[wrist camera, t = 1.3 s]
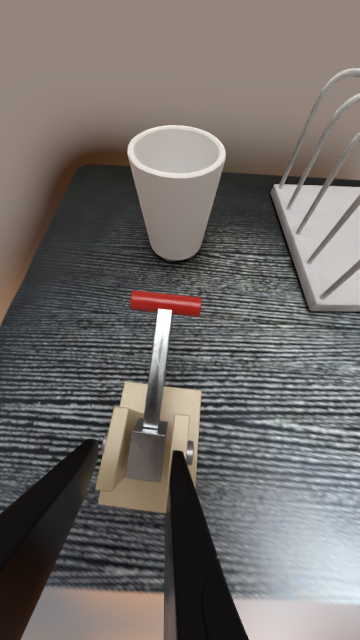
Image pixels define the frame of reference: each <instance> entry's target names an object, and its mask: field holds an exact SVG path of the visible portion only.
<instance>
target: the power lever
mask: <svg viewBox="0 0 360 640" xmlns="http://www.w3.org/2000/svg"><path fill="white" fill-rule="evenodd" d="M201 300H202V299H201V298H199V297H190V296H181V295H172V294H163V293H153V292H144V291H135V290H134V291H133V292H132V295H131V302H130V304H131V309H132V310H138V311H147V312H156V313H157V317H156V325H155V333H154V340H153V348H152V356H151V364H150V371H149V379H148V387H147V395H146V402H145V410H144V418H139V419H138V421H137V423H136V424H135V426H134V428H133V430H132V431H131V438H130V446H129V453H128V461H127V468H126V476H125V478H129V479H137V480H144V481H152V482H159V483H160V481H161V475H162V469H163V462H164V454H165V446H166V437H167V428H168V422H167V421H160V419H161V411H162V403H163V394H164V386H165V378H166V369H167V361H168V353H169V344H170V336H171V328H172V319H173V314H174V315H183V316H192V317H199V316H200V311H201Z"/></svg>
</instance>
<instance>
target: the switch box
mask: <svg viewBox="0 0 360 640" xmlns="http://www.w3.org/2000/svg"><path fill="white" fill-rule="evenodd" d="M147 387H148V384H142V383H134V382H125V385H124V389H123V394H122V398H121V402H120V407H117V406H115V407H114V410H113V414H112V418H111V422H110V427H109V430H108V431H107V432H106V434H105V436H104V439H103V442H102V449H101V451H102V454H103V457H102V461H101V465H100V469H99V474H98V478H97V482H96V486H95V489H96V490H100V491H101V492H100V496H99V501H98V504H99V505H107V506H114V507H121V508H129V509H136V510H144V511H151V512H158V513H166V506H167V496H168V487H169V478H170V469H171V460H172V452H173V450H179V451H182V452H183V453H184V456H185V459H186V462H187V465H188V468H189V471H190V474H191V477H192V480H193V483H194V486H195V487H196V471H197V455H198V439H199V423H200V407H201V391H200V390H192V389H183V388H175V387H167V386H164V394H163V403H162V411H161V419H160V421H167V422H168V428H167V437H166V446H165V454H164V462H163V469H162V475H161V481H160V483H159V482H152V481H144V480H137V479H129V478H125V476H126V468H127V461H128V453H129V446H130V438H131V431H132V430H133V428H134V426H135V424H136V423H137V421H138V419H139V418H144V410H145V402H146V395H147Z"/></svg>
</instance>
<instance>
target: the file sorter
mask: <svg viewBox="0 0 360 640" xmlns="http://www.w3.org/2000/svg"><path fill="white" fill-rule="evenodd" d="M349 76H354V77H360V68H350V69H346V70H344V71H342V72H340V73H338V74H337V75H335V76H334V77H333V78H332V79H331V80H330V81H329V82H328V83H327V84H326V85H325V87H324V88H323V89H322V91H321V92H320V94H319V96H318V98H317V100H316V102H315V104H314V106H313V109H312V111H311V113H310V115H309V118H308V120H307V122H306V125H305V127H304V129H303V131H302V134H301V136H300V138H299V141H298V143H297V145H296V148H295V150H294V152H293V155H292V157H291V159H290V162H289V164H288V166H287V168H286V171H285V173H284V175H283V178H282V180H281V182H280V184H275V185H274V187H273V189H272V191H271V197H272V199H273V202H274V205H275V208H276V211H277V214H278V217H279V220H280V223H281V226H282V229H283V232H284V235H285V238H286V241H287V244H288V247H289V250H290V253H291V256H292V259H293V262H294V265H295V268H296V271H297V274H298V277H299V280H300V283H301V286H302V289H303V292H304V295H305V298H306V301H307V304H308V307H309V309H310V310H311V311H360V187H339V186H329V185H330V184H331V182H332V181H333V179H334V178H335V176H336V174H337V173H338V171H339V170H340V168H341V166H342V164H343V163H344V162H345V160H346V158H347V157H348V155H349V153H350V152H351V151H352V149H353V148H354V147H355V145H356V144H357V143H358V142H359V141H360V132H359V133H358V134H357V135H356V136H355V137H354V138H353V139H352V140H351V142H350V143H349V144H348V146H347V147H346V148H345V150H344V152H343V153H342V155H341V156H340V158H339V160H338V161H337V163H336V165H335V166H334V168H333V170H332V171H331V173H330V175H329V177H328V178H327V180H326V181H325V183H324V185H323V186H312V185H303V183H304V181H305V179H306V177H307V175H308V173H309V171H310V169H311V167H312V165H313V163H314V161H315V159H316V158H317V156H318V154H319V152H320V150H321V148H322V146H323V144H324V142H325V140H326V138H327V136H328V134H329V132H330V131H331V129H332V127H333V125H334V124H335V122H336V120H337V119H338V117H339V116H340V115H341V114H342V113H343V112H344V111H345V110H346V109H347V108H349V107H350V106H352V105H353V104H355V103H357V102H359V101H360V93H359V94H357V95H355V96H353V97H352V98H350V99H349V100H347V101H346V102H345V103H344V104H343V105H342V106H341V107H340V108H339V109H338V110H337V111H336V112H335V114H334V115H333V116H332V118H331V120H330V121H329V123H328V125H327V127H326V129H325V130H324V133H323V134H322V137H321V139H320V141H319V143H318V145H317V147H316V149H315V151H314V153H313V155H312V157H311V159H310V161H309V163H308V165H307V167H306V169H305V171H304V173H303V175H302V177H301V179H300V181H299V183H298V185H284V182H285V180H286V178H287V176H288V174H289V171H290V169H291V167H292V164H293V162H294V160H295V158H296V156H297V153H298V151H299V149H300V147H301V144H302V142H303V140H304V138H305V135H306V133H307V131H308V129H309V127H310V124H311V122H312V120H313V118H314V116H315V114H316V111H317V109H318V107H319V105H320V102H321V101H322V99H323V97H324V95H325V94H326V92H327V91H328V90H329V89H330V88H331V86H332V85H333V84H334V83H336V82H337V81H339V80H340V79H343V78H345V77H349Z"/></svg>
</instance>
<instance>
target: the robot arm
mask: <svg viewBox="0 0 360 640" xmlns="http://www.w3.org/2000/svg"><path fill="white" fill-rule="evenodd" d="M97 459H98V441H97V440H95V439H87V440H85V441H84V442H83V443H82V444H81V445H79V446H78V447H77V448H76V449H75V450H74V451H73V452H71V453H70V454H69V455H68V456H67V457H66V458H64V459H63V460H62V461H61V462H60V463H59V464H57V465H56V466H55V467H54V468H53V469H52V470H50V471H49V472H48V473H47V474H46V475H45V476H43V477H42V478H41V479H40V480H39V481H38V482H37V483H35V484H34V485H33V486H32V487H31V488H30V489H28V490H27V491H26V492H25V493H24V494H23V495H21V496H20V497H19V498H18V499H17V500H16V501H14V502H13V503H12V504H11V505H10V506H9V507H8V508H6V509H5V510H4V511H3V512H2V513H1V514H0V640H21V638H22V635H23V633H24V631H25V629H26V626H27V624H28V622H29V620H30V618H31V615H32V613H33V611H34V609H35V607H36V604H37V602H38V600H39V598H40V596H41V593H42V591H43V589H44V587H45V585H46V582H47V580H48V578H49V576H50V574H51V571H52V569H53V567H54V565H55V563H56V560H57V558H58V556H59V554H60V552H61V549H62V547H63V545H64V543H65V541H66V538H67V536H68V534H69V532H70V530H71V527H72V525H73V523H74V521H75V518H76V516H77V514H78V512H79V509H80V507H81V505H82V502H83V499H84V496H85V494H86V491H87V488H88V485H89V482H90V479H91V477H92V474H93V471H94V468H95V465H96V462H97ZM164 640H249V639H248V636H247V634H246V632H245V629H244V627H243V624H242V622H241V619H240V617H239V614H238V612H237V609H236V607H235V604H234V602H233V599H232V596H231V593H230V591H229V588H228V585H227V582H226V579H225V577H224V574H223V571H222V568H221V565H220V562H219V559H218V558H217V553H216V550H215V547H214V544H213V541H212V538H211V535H210V532H209V529H208V526H207V523H206V520H205V517H204V514H203V511H202V508H201V505H200V502H199V499H198V496H197V493H196V489H195V486H194V483H193V480H192V477H191V474H190V471H189V468H188V465H187V462H186V459H185V456H184V453H183V452H182V451H179V450H173V452H172V460H171V469H170V478H169V487H168V496H167V506H166V517H165V580H164Z"/></svg>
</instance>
